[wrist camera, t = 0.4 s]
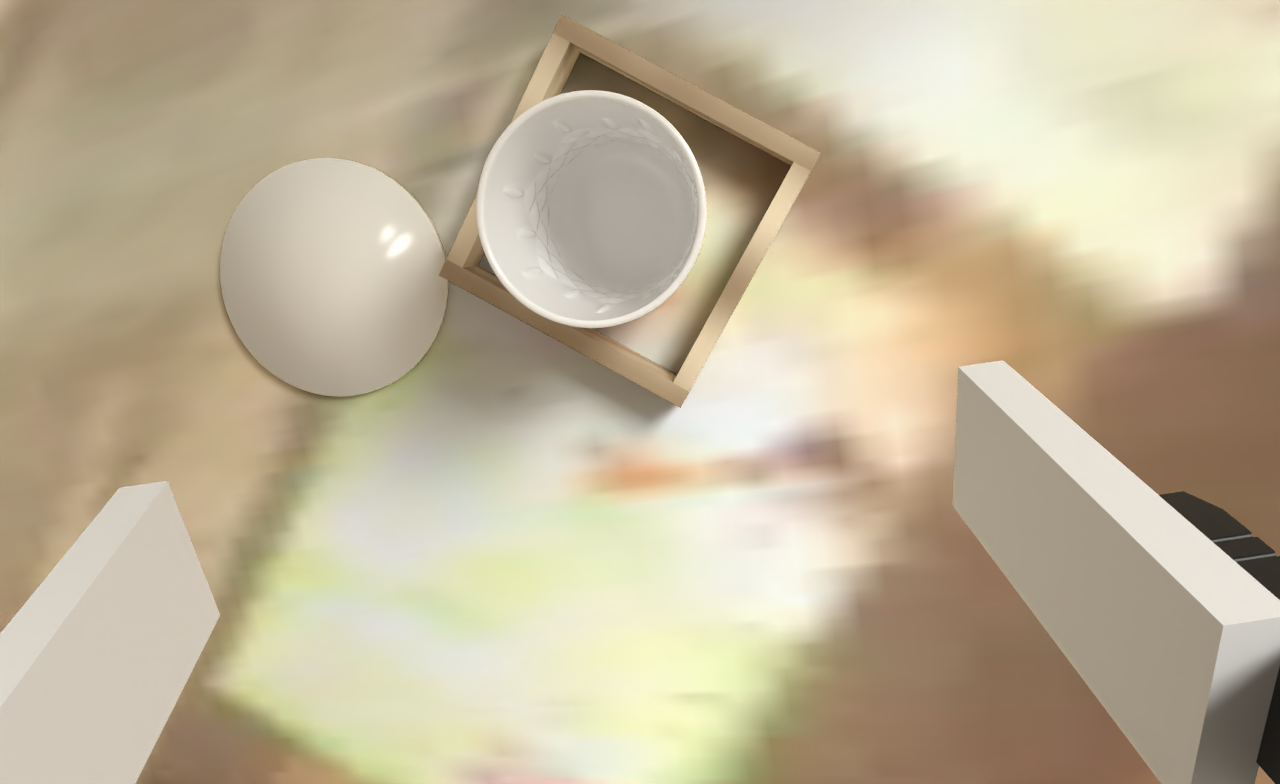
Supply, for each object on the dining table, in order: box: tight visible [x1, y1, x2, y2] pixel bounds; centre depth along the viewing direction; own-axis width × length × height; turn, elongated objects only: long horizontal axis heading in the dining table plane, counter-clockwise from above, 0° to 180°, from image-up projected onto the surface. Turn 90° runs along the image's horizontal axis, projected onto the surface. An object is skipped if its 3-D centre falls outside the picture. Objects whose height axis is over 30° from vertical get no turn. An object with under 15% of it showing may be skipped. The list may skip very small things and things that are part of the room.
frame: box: [439, 15, 821, 408], centre depth 39 cm, size 12×12×2 cm
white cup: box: [476, 90, 708, 328], centre depth 36 cm, size 8×8×10 cm
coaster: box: [220, 158, 448, 397], centre depth 43 cm, size 11×11×1 cm
